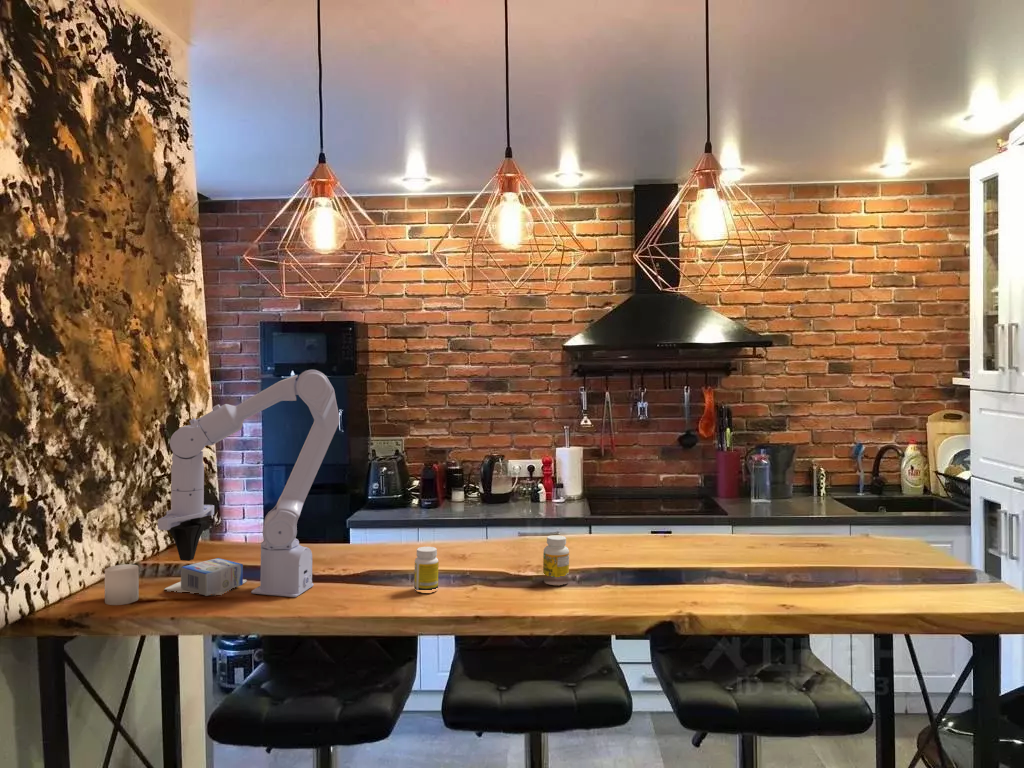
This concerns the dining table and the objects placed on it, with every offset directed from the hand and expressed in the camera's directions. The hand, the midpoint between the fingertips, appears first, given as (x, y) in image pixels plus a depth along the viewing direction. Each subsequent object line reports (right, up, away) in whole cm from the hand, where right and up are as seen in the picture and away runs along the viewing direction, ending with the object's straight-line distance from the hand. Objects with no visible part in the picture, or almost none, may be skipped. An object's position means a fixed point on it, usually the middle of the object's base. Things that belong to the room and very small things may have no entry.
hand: (186, 559), depth 144 cm
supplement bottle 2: (+71, -8, +14) cm, 73 cm away
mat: (+1, -7, +6) cm, 9 cm away
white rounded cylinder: (-11, -7, -3) cm, 13 cm away
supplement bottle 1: (+45, -8, +7) cm, 46 cm away
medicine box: (+1, -4, +1) cm, 4 cm away
